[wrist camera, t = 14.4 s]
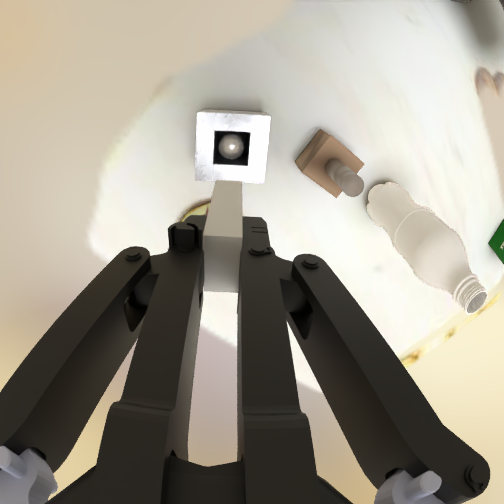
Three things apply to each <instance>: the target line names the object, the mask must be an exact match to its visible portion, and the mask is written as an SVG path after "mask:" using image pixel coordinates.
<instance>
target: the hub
mask: <svg viewBox="0 0 504 504" xmlns="http://www.w3.org/2000/svg"><path fill="white" fill-rule="evenodd" d="M248 137H249V132H240V131H220V130H217V145H216V155H222V156H223V157H225V158H227V159H235V158H237V157H239V156H247V149H248Z"/></svg>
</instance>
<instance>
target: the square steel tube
mask: <svg viewBox="0 0 504 504" xmlns="http://www.w3.org/2000/svg"><path fill="white" fill-rule="evenodd" d="M270 120H271V116H270V115H269V114H267V113H263V112H251V111H235V110H210V109H202V110H201V111H199V112H197V127H196V159H195V180H203V181H216V180H227V181H242V182H245V183H260V184H264V178H265V168H266V158H267V149H268V139H269V129H270ZM217 130H220V131H240V132H249V137H248V149H247V156H239V157H237V158H235V159H227V158H225V157H223V156H222V155H216V145H217Z"/></svg>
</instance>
